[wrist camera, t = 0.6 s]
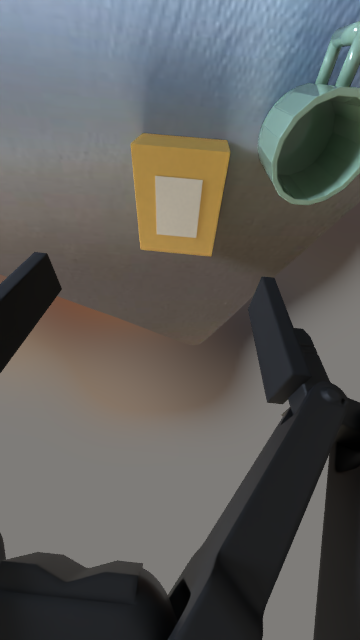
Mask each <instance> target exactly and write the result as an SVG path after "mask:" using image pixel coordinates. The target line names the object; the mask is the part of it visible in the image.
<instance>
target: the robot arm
mask: <svg viewBox="0 0 360 640" xmlns="http://www.w3.org/2000/svg"><path fill="white" fill-rule="evenodd" d="M61 290H62V288H61V286H60V283H59V281H58V279H57V276H56V274H55V271H54V269H53V266H52V264H51V261H50V259H49V257H48V254H47V253H38V252H34V253H33V254H32V255H31V256H30V257H29V258H28V259H27V260H26V261H25V262H23V263H22V264H21V265H20V266H19V267H18V268H17V269H16V270H15V271H14V272H13V273H12V274H11V275H9V276H8V277H7V278H6V279H5V280H4V281H3V282H2V283H1V284H0V373H1V372H2V370H3V369H4V368H5V366H6V365H7V363H8V362H9V361H10V359H11V357H13V355H14V354H15V352H16V351H17V350H18V348H19V347H20V346H21V344H22V343H23V342H24V340H25V339H26V337H27V336H28V335H29V333H30V332H31V331H32V329H33V328H34V327H35V325H36V324H37V323H38V321H39V320H40V318H41V317H42V316H43V314H44V313H45V312H46V310H47V309H48V308H49V306H50V305H51V303H52V302H53V301H54V299H55V298H56V297H57V295H58V294H59V292H60V291H61ZM248 311H249V316H250V321H251V326H252V331H253V336H254V341H255V346H256V350H257V355H258V360H259V365H260V370H261V375H262V379H263V385H264V389H265V394H266V399H267V402H268V403H277V404H283V403H284V402H286V401H287V400H289V404H290V408H289V409H287V410H286V411H285V412H284V413H283V414H282V416H283V418H282V419H281V421H280V423H279V424H278V426H277V427H276V429H275V430H274V432H273V434H272V435H271V437H270V439H269V440H268V442H267V443H266V445H265V446H264V448H263V450H262V451H261V453H260V454H259V456H258V458H257V459H256V461H255V462H254V464H253V466H252V467H251V469H250V471H249V472H248V473H247V475H246V477H245V479H244V480H243V481H242V483H241V485H240V486H239V488H238V489H237V491H236V493H235V494H234V496H233V498H232V499H231V501H230V502H229V504H228V505H227V507H226V509H225V510H224V512H223V513H222V515H221V517H220V518H219V520H218V521H217V523H216V525H215V526H214V528H213V529H212V531H211V533H210V534H209V536H208V537H207V539H206V541H205V542H204V543H203V545H202V546H201V548H200V549H199V550H198V551H197V552H196V553H195V554H194V556H193V557H192V558H191V560H190V561H189V563H188V564H187V566H186V567H185V569H184V571H183V572H182V574H181V576H180V577H179V578H178V580H177V582H176V583H175V585H174V586H173V588H172V589H171V591H170V593H169V594H168V595H167V593H166V591H165V590H164V588H163V587H162V585H161V584H160V582H159V581H158V580H157V579H156V578H155V577H154V576H153V575H152V574H151V573H150V572H148V571H147V570H145V569H143V568H142V566H143V563H133V562H124V561H114V562H111V563H107V564H103V565H100V566H96V567H92V568H85V567H84V566H82V565H80V564H78V563H77V562H75V561H73V560H71V559H70V558H68V557H66V556H64V555H60V554H50V553H40V552H37V553H32V554H28V555H24V556H19V557H16V558H11V559H7V560H6V557H5V550H4V543H3V538H2V536H1V534H0V640H262V636H263V614H264V610H265V607H266V604H267V602H268V599H269V597H270V595H271V592H272V590H273V587H274V585H275V582H276V580H277V578H278V575H279V573H280V571H281V568H282V566H283V563H284V561H285V559H286V556H287V554H288V551H289V549H290V547H291V544H292V542H293V539H294V537H295V534H296V532H297V530H298V527H299V525H300V523H301V520H302V518H303V515H304V513H305V511H306V508H307V506H308V503H309V501H310V498H311V496H312V494H313V491H314V489H315V487H316V484H317V482H318V479H319V477H320V475H321V472H322V470H323V468H324V465H325V463H326V460H327V458H328V456H329V466H328V478H327V489H326V500H325V512H324V523H323V535H322V546H321V558H320V570H319V581H318V593H317V604H316V616H315V628H314V639H313V640H360V403H359V402H357V401H354V400H352V399H349V398H347V397H346V395H345V394H344V392H343V391H342V390H341V389H340V388H338V387H337V386H336V385H334V384H332V383H331V382H330V381H329V378H328V376H327V374H326V372H325V369H324V367H323V365H322V362H321V360H320V358H319V356H318V355H317V351H316V349H315V347H314V344H313V342H312V340H311V337H310V336H309V335H308V334H307V333H306V332H305V331H304V330H303V329H298V328H293V325H292V323H291V320H290V318H289V315H288V312H287V310H286V307H285V304H284V302H283V300H282V297H281V294H280V292H279V289H278V286H277V284H276V281H275V278H271V277H261V280H260V282H259V284H258V287H257V289H256V292H255V294H254V296H253V299H252V301H251V303H250V306H249V308H248ZM329 453H330V454H329Z"/></svg>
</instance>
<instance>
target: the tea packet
mask: <svg viewBox="0 0 360 640" xmlns="http://www.w3.org/2000/svg"><path fill="white" fill-rule="evenodd" d="M131 153H132V164H133V174H134V185H135V195H136V206H137V216H138V227H139V237H140V248H141V250H150V251H160V252H171V253H181V254H191V255H202V256H211V255H212V250H213V245H214V239H215V234H216V228H217V223H218V217H219V212H220V207H221V201H222V196H223V190H224V185H225V180H226V174H227V169H228V163H229V158H230V149H229V145H228V141H227V140H217V139H206V138H194V137H182V136H171V135H159V134H147V133H142V134H141V135H140V136H139V137H138V138H137V139H135V140H134V141H133V142H132V143H131Z"/></svg>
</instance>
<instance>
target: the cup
mask: <svg viewBox="0 0 360 640" xmlns="http://www.w3.org/2000/svg"><path fill="white" fill-rule="evenodd" d="M350 45H351V47H350V50H349V52H348V55H347V57H346V59H345V62H344V64H343V67H342V69H341V72H340V74H339V77H338V79H337V82H336V84H335V86H334V85H327V84H328V81H329V79H330V76H331V74H332V71H333V68H334V66H335V63H336V61H337V58H338V55H339V53H340V50H341V48H342V47H345V46H350ZM359 65H360V21H358V22H355V23H353V24H350V25H347V26H344V27H341V28H339V29H337V30H336V31H335V32H334V34H333V35H332V38H331V40H330V43H329V46H328V49H327V51H326V54H325V57H324V60H323V63H322V66H321V68H320V71H319V74H318V77H317V80H316V82H315V84H310V83H308V84H305V85H301V86H298V87H296V88H294V89H292V90H290V91H289V92H288V93H286V94H285V95H284V96H282V97H281V98H280V99H279V100H278V101H277V102H276V103H275V105H274V106H273V107H272V109H271V110H270V112H269V113H268V115H267V116H266V118H265V120H264V123H263V125H262V128H261V131H260V134H259V139H258V154H259V160H260V162H261V164H262V166H263V168H264V170H265V172H266V173H267V175H268V177H269V179H270V180H271V182H272V184H273V186H274V187H275V189H276V191H277V193H278V194H279V196H280V197H282V198H283V199H285V200H286V201H288V202H290V203H291V204H299V205H310V204H314V203H317V202H321V201H324V200H327V199H328V198H330V197H332V196H333V195H335V194H336V193H338V192H340V191H341V190H343V189H344V188H346V186H347V185H348V184H349V183H350V182H351V181H352V180H353V179H354V178H355V177H356V176H357V175H358V174H359V173H360V88H356V87H350V85H351V83H352V81H353V79H354V76H355V74H356V72H357V69H358V67H359Z"/></svg>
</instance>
